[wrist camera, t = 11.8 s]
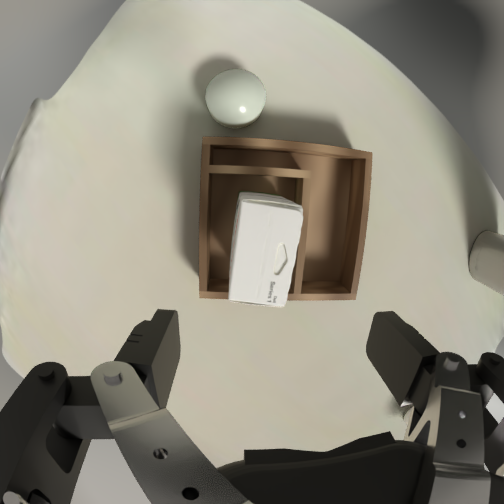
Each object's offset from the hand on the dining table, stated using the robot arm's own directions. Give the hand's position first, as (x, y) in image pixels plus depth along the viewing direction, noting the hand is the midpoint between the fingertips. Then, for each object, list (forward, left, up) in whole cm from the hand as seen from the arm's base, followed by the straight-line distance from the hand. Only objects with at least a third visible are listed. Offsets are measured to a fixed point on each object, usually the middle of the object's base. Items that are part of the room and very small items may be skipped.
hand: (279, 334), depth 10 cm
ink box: (0, 0, -23) cm, 23 cm away
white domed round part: (+2, -15, -23) cm, 28 cm away
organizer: (-3, -2, -23) cm, 23 cm away
